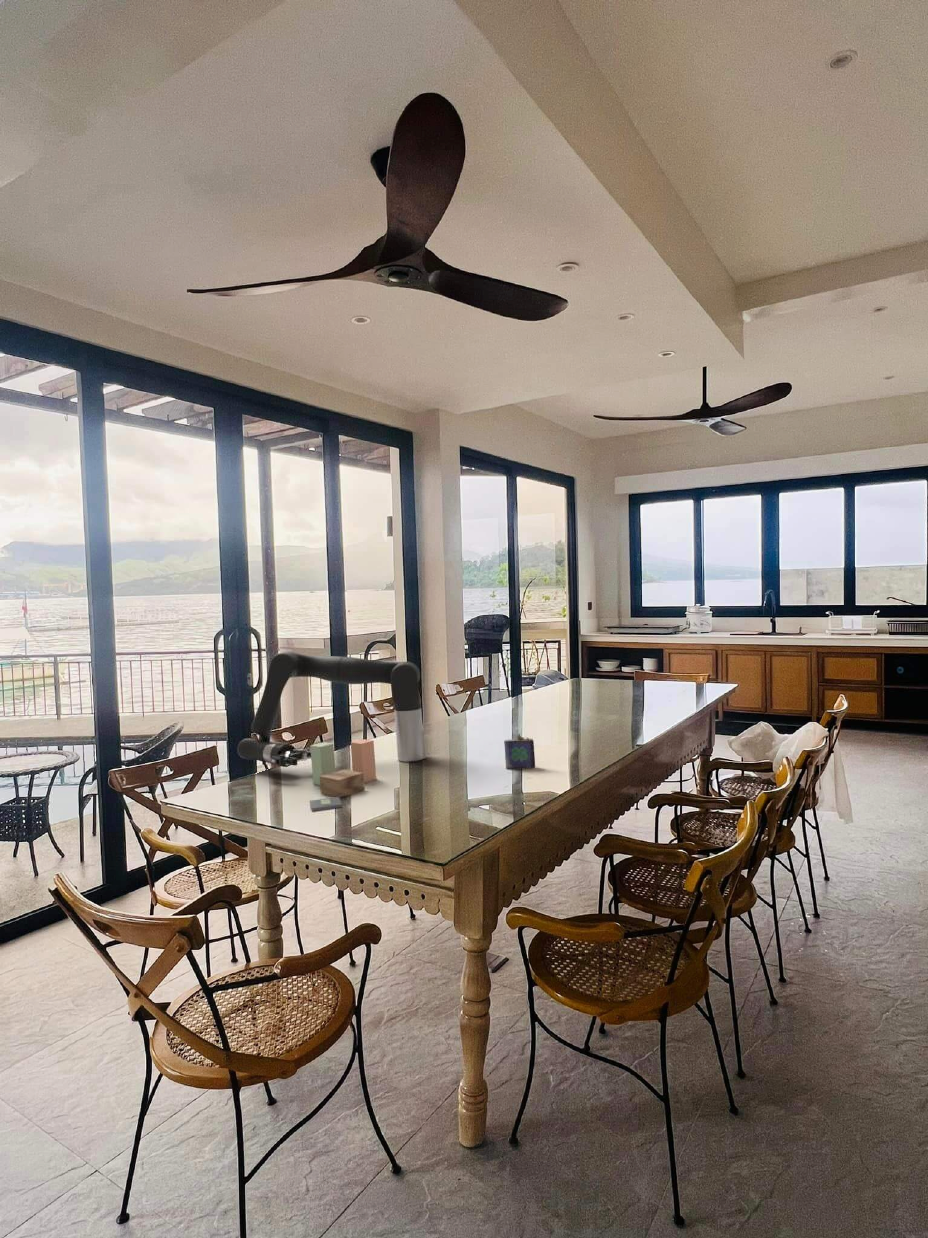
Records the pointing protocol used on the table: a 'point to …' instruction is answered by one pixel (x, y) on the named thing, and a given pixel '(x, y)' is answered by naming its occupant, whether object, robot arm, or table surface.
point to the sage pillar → (322, 760)
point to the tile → (325, 804)
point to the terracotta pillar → (364, 758)
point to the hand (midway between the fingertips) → (307, 759)
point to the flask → (519, 753)
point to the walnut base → (342, 783)
